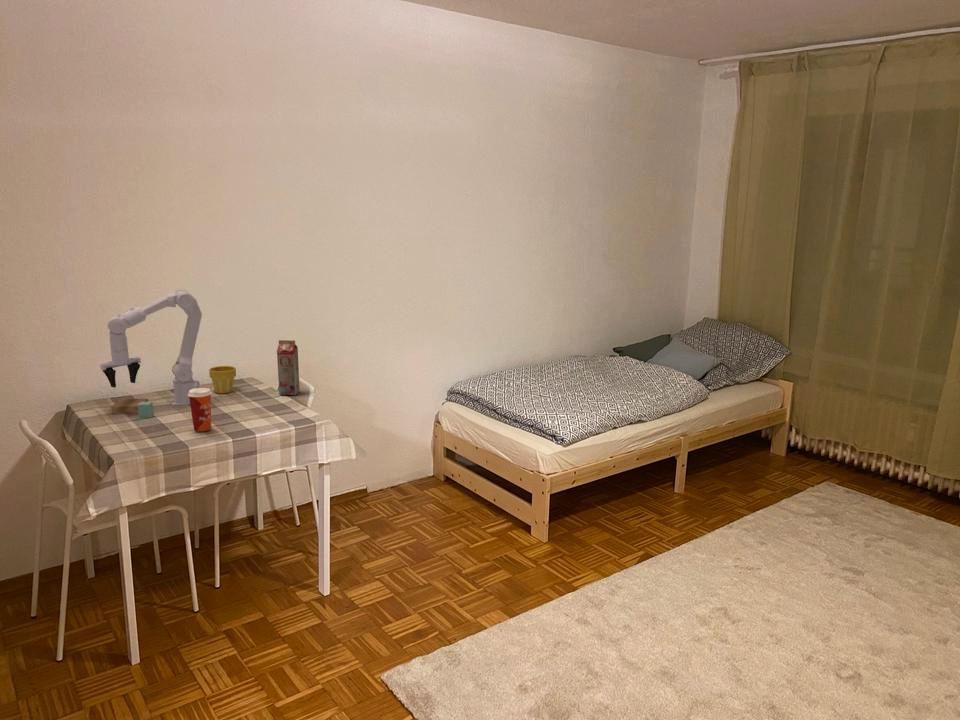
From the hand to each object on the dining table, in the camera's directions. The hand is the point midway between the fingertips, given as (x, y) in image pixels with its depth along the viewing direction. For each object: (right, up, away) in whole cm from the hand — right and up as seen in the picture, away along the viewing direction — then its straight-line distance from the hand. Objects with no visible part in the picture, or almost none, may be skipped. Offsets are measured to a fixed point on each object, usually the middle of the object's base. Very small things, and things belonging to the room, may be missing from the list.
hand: (123, 384), depth 273 cm
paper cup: (+37, -15, -20) cm, 45 cm away
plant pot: (+28, -4, +27) cm, 40 cm away
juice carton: (+56, -4, +27) cm, 62 cm away
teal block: (+11, -11, -6) cm, 17 cm away
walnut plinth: (+3, -10, +1) cm, 10 cm away
